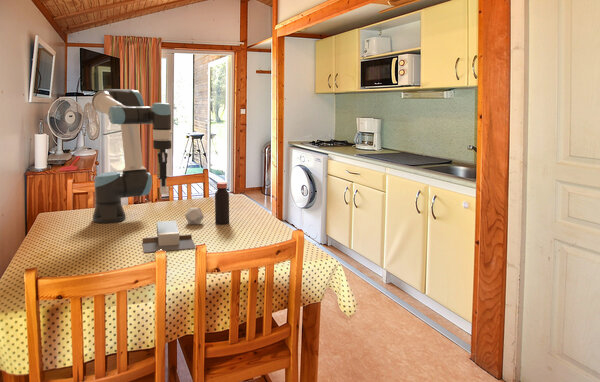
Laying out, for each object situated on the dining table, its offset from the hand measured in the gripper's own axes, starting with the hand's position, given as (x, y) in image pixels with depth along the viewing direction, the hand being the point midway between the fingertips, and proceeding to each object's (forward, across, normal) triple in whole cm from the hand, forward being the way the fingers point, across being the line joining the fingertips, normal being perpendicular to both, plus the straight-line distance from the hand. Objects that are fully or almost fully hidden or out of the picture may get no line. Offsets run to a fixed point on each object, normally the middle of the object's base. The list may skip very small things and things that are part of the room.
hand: (163, 193), depth 205 cm
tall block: (+13, -8, 0) cm, 15 cm away
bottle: (+19, +12, -28) cm, 36 cm away
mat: (+18, -20, 0) cm, 27 cm away
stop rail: (+18, -12, 0) cm, 22 cm away
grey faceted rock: (+19, +15, -15) cm, 28 cm away
